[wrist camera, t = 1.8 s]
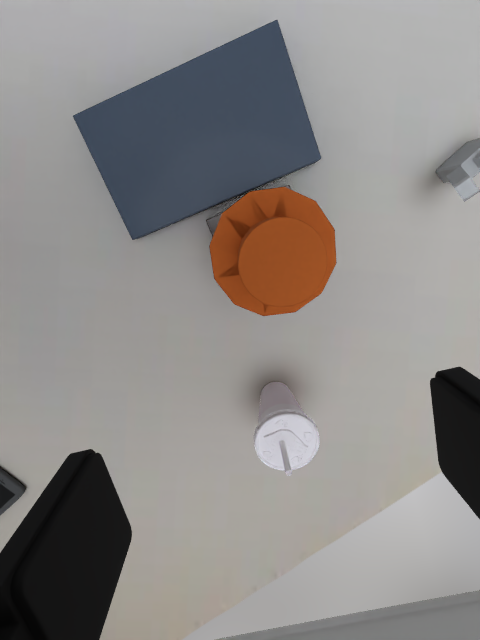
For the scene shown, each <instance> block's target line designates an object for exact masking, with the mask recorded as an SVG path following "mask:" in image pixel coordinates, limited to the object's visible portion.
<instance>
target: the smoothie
mask: <svg viewBox="0 0 480 640" xmlns="http://www.w3.org/2000/svg"><path fill="white" fill-rule="evenodd" d="M319 444H320V438H319V433H318V430H317V426H316V424H315V423H314V421H313V420H312V419H311V418H310V417H309V416H308V415H307V414H305V413H304V411H303V409H302V408H301V406H300V405H299V403H298V402H297V400H296V398H295V397H294V395H293V394H292V392H291V391H290V389H289V388H288V386H287V385H285V384H284V383H282V382H271V383H269V384H267V385H266V386H265V387H264V388H263V389H262V391H261V397H260V407H259V418H258V425H257V427H256V429H255V433H254V445H255V450H256V453H257V455H258V457H259V458H260V460H261V461H262V462H263V463H264V464H266V465H267V466H269V467H271V468H273V469H277V470H283V471H285V473H286V475H288V476H289V475H291V474H292V470H295V469H298V468H301V467H303V466H304V465H306V464H308V463H309V462H310V461H311V460H312V459H313V458H314V456H315V455H316V453H317V451H318V449H319Z"/></svg>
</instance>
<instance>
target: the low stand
mask: <svg viewBox="0 0 480 640" xmlns="http://www.w3.org/2000/svg"><path fill="white" fill-rule="evenodd" d="M73 117H74V119H75V121H76V124H77V126H78V128H79V130H80V132H81V134H82V136H83V138H84V140H85V142H86V144H87V146H88V148H89V151H90V153H91V155H92V157H93V159H94V161H95V163H96V165H97V167H98V169H99V171H100V173H101V175H102V178H103V180H104V182H105V184H106V186H107V188H108V190H109V192H110V194H111V196H112V198H113V200H114V202H115V205H116V207H117V209H118V211H119V213H120V215H121V217H122V219H123V221H124V223H125V225H126V227H127V230H128V232H129V234H130V236H131V238H132V240H134V239H138V238H141V237H143V236H146V235H148V234H150V233H153V232H155V231H157V230H160V229H162V228H164V227H167V226H169V225H171V224H174V223H176V222H178V221H181V220H183V219H185V218H188V217H190V216H192V215H195V214H197V213H199V212H202V211H204V210H206V209H208V208H211V207H213V206H215V205H218V204H220V203H222V202H225V201H227V200H229V199H232V198H234V197H236V196H239V195H241V194H243V193H246V192H248V191H250V190H253V189H255V188H257V187H260V186H262V185H264V184H267V183H269V182H271V181H274V180H276V179H278V178H281V177H283V176H285V175H288V174H290V173H292V172H295V171H297V170H299V169H302V168H304V167H306V166H309V165H311V164H313V163H315V162H317V161H318V160H320V159H321V156H320V153H319V150H318V147H317V144H316V140H315V137H314V134H313V131H312V128H311V125H310V121H309V118H308V115H307V112H306V109H305V106H304V103H303V99H302V96H301V93H300V90H299V87H298V84H297V80H296V77H295V74H294V71H293V68H292V65H291V62H290V58H289V55H288V52H287V49H286V46H285V43H284V39H283V36H282V33H281V30H280V27H279V24H278V21H277V20H275V21H273V22H271V23H269V24H267V25H265V26H262V27H260V28H258V29H256V30H254V31H252V32H250V33H248V34H245V35H243V36H241V37H239V38H237V39H235V40H233V41H231V42H229V43H226V44H224V45H222V46H220V47H218V48H216V49H214V50H212V51H209V52H207V53H205V54H203V55H201V56H199V57H197V58H195V59H192V60H190V61H188V62H186V63H184V64H182V65H180V66H178V67H175V68H173V69H171V70H169V71H167V72H165V73H163V74H161V75H159V76H156V77H154V78H152V79H150V80H148V81H146V82H144V83H142V84H139V85H137V86H135V87H133V88H131V89H129V90H127V91H125V92H122V93H120V94H118V95H116V96H114V97H112V98H110V99H108V100H105V101H103V102H101V103H99V104H97V105H95V106H93V107H91V108H89V109H86V110H84V111H82V112H80V113H78V114H76V115H74V116H73Z"/></svg>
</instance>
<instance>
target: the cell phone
mask: <svg viewBox="0 0 480 640" xmlns="http://www.w3.org/2000/svg"><path fill="white" fill-rule="evenodd" d="M24 492H25V487H24V486H23V485H22V484H21V483H19V482H18V481H17V480H15V479H14V478H13V477H11V476H10V475H9V474H7V473H6V472H5V471H3V470H2V469H1V468H0V515H1V514H2V513H4V512H5V511H6V510H7V509H8V508H9V507H10V506H11V505H12V504H13V503H15V502H16V501H17V500H18V499H19V498H20V497H21V496H22V494H23V493H24Z"/></svg>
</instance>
